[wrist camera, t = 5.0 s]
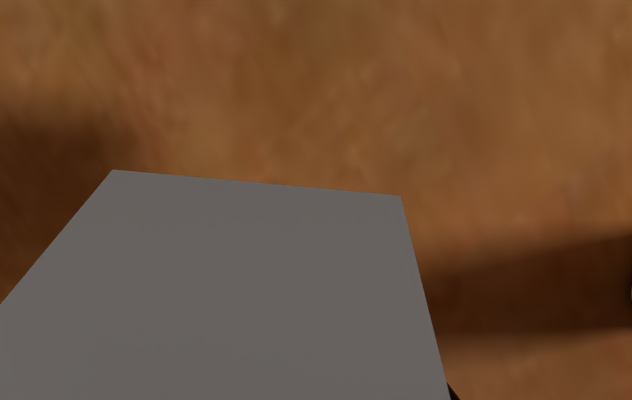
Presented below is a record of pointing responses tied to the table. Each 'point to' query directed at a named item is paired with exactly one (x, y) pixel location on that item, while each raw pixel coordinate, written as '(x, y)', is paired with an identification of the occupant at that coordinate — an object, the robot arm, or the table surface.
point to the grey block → (222, 298)
